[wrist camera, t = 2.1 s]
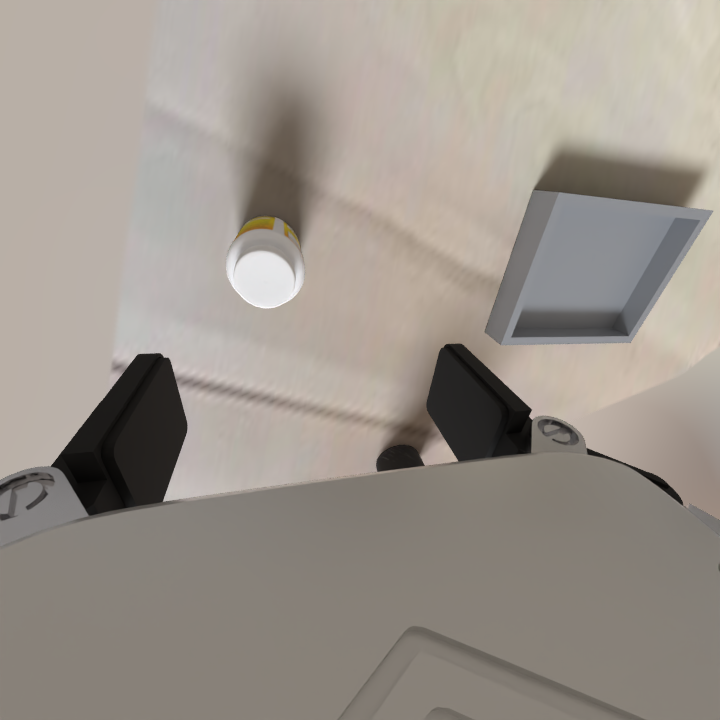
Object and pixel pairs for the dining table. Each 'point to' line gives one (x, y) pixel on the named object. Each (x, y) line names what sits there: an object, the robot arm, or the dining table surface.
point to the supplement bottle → (266, 262)
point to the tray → (589, 268)
